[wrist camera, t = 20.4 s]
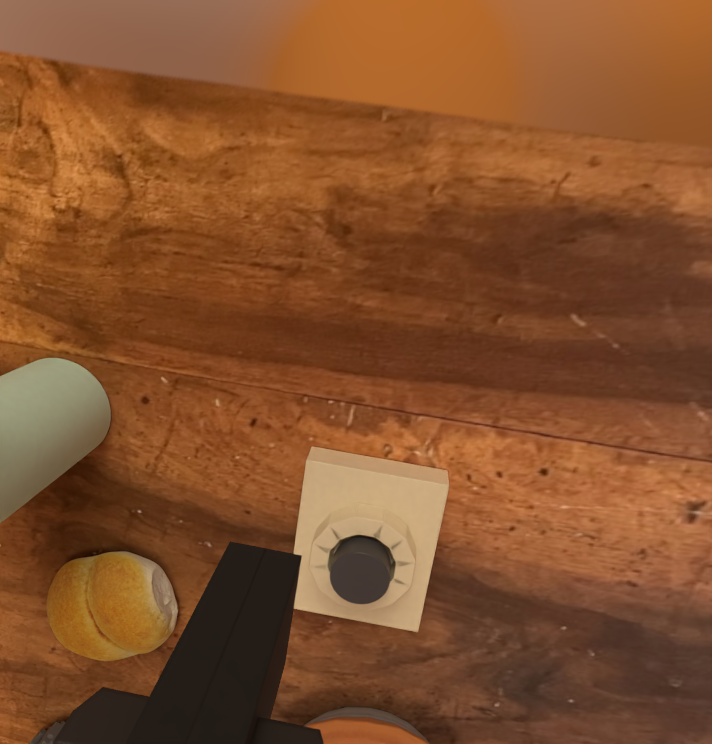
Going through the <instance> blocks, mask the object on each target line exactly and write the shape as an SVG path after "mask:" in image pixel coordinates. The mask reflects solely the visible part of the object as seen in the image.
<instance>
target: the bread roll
mask: <svg viewBox="0 0 712 744" xmlns="http://www.w3.org/2000/svg"><path fill="white" fill-rule="evenodd" d="M177 615H178V605H177V602H176V599H175V596H174V591H173V588H172V585H171V584H170V581H169V579H168V578H167V576H166V574H165V572H164V571H163V569H162V568H161V567H160V566H159V565H158V564H156V563H155V562H153V561H151V560H149V559H146V558H144V557H141V556H139V555H136V554H133V553H130V552H125V551H121V552H107V553H104V554H100V555H97V556H92V557H85V558H78V559H74V560H71V561H69V562H67V563H66V564H65V565H63V566H62V567H61V568H60V569H59V571H58V572H57V574H56V576H55V577H54V579H53V581H52V584H51V586H50V588H49V591H48V597H47V616H48V620H49V623H50V626H51V629H52V631H53V633H54V635H55V637H56V638H57V639H58V640H59V642H60V643H61V644H62V645H63V646H65V647H66V648H67V649H69V650H70V651H72V652H74V653H76V654H79V655H82V656H85V657H88V658H91V659H95V660H100V661H114V660H118V659H123V658H127V657H130V656H133V655H137V654H144V653H148V652H151V651H153V650H154V649H156V648H157V647H159V646H160V645H161V644H163V643H164V642H165V641H166V640H167V639H168V638H169V636H170V635H171V634H172V632H173V631H174V629H175V625H176V620H177Z"/></svg>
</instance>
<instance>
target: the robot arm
mask: <svg viewBox="0 0 712 744" xmlns="http://www.w3.org/2000/svg"><path fill="white" fill-rule="evenodd" d="M301 558H302V556H301V555H296V554H291V553H286V552H281V551H275V550H270V549H265V548H260V547H255V546H250V545H244V544H239V543H234V542H230V543H229V545H228V547H227V549H226V551H225V552H224V554H223V556H222V558H221V560H220V562H219V564H218V566H217V568H216V570H215V572H214V574H213V576H212V577H211V579H210V581H209V583H208V585H207V587H206V589H205V591H204V593H203V595H202V597H201V599H200V601H199V603H198V604H197V606H196V608H195V610H194V612H193V614H192V616H191V618H190V620H189V622H188V624H187V626H186V628H185V629H184V631H183V633H182V635H181V637H180V639H179V641H178V643H177V645H176V647H175V649H174V651H173V653H172V654H171V656H170V658H169V660H168V662H167V664H166V666H165V668H164V670H163V672H162V674H161V676H160V678H159V679H158V681H157V683H156V685H155V687H154V689H153V691H152V693H151V695H150V697H148V696H143V695H138V694H133V693H128V692H123V691H118V690H114V689H109V688H104V687H103V688H101V689H100V690H99V691H98V692H96V693H95V694H94V695H92V696H91V697H90V698H89V699H87V700H86V701H85V702H84V703H82V704H81V705H80V706H79V707H77V708H76V709H75V710H74V711H73V712H72V713H71V715H70V716H69V718H68V720H67V721H66V723H65V724H64V726H63V727H62V729H61V730H60V732H59V733H58V735H57V736H56V738H55V739H54V741H53V743H52V744H324V742H323V739H322V735H321V731H320V729H315V728H310V727H305V726H300V725H296V724H291V723H286V722H281V721H276V720H271V719H270V717H271V713H272V710H273V706H274V702H275V699H276V695H277V691H278V688H279V684H280V680H281V676H282V673H283V669H284V665H285V660H286V654H287V647H288V641H289V635H290V628H291V622H292V615H293V609H294V603H295V596H296V590H297V584H298V577H299V571H300V564H301Z"/></svg>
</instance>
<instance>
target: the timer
mask: <svg viewBox="0 0 712 744" xmlns="http://www.w3.org/2000/svg"><path fill="white" fill-rule="evenodd" d="M448 489H449V479H448V471H447V470H443V469H437V468H431V467H426V466H420V465H414V464H409V463H403V462H397V461H392V460H386V459H381V458H375V457H369V456H364V455H358V454H352V453H347V452H341V451H335V450H330V449H324V448H318V447H313V446H312V447H311V450H310V452H309V455H308V457H307V459H306V465H305V472H304V480H303V487H302V494H301V502H300V509H299V516H298V523H297V531H296V538H295V545H294V553H293V554H296V555H301V556H302V558H301V564H300V571H299V577H298V584H297V590H296V596H295V603H294V609H299V610H304V611H309V612H315V613H320V614H325V615H330V616H336V617H341V618H346V619H351V620H357V621H362V622H367V623H372V624H378V625H383V626H388V627H393V628H399V629H404V630H409V631H414V632H418V629H419V625H420V620H421V615H422V611H423V606H424V601H425V597H426V592H427V587H428V583H429V578H430V573H431V569H432V564H433V559H434V555H435V550H436V545H437V541H438V536H439V531H440V527H441V522H442V517H443V513H444V508H445V503H446V499H447V494H448ZM356 537H365V538H370V539H373V540H375V541H377V542H378V543H380V544H381V545H382V546H383V547H384V548H385V549H386V551H387V552H388V554H389V556H390V560H391V571H390V583H389V587H388V589H387V591H386V593H385V594H384V595H383V596H382V597H381V598H380V599H378V600H377V601H375V602H372V603H369V604H354V603H351V602H348V601H346V600H344V599H343V598H341V597H340V596H339V595H338V594H337V593H336V592H335V591H334V589H333V587H332V585H331V582H330V571H331V566H332V562H333V557H334V554H335V551H336V550H337V548H338V547H339V546H340V545H341V544H342V543H343V542H345V541H347V540H349V539H351V538H356Z"/></svg>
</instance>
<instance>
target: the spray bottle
mask: <svg viewBox="0 0 712 744" xmlns="http://www.w3.org/2000/svg"><path fill="white" fill-rule="evenodd" d="M110 422H111V408H110V404H109V400H108V397H107V395H106V392H105V390H104V389H103V387H102V385H101V384H100V383H99V381H98V380H97V379H96V378H95V377H94V376H93V375H92V374H91V373H90V372H89V371H88V370H86V369H85V368H83V367H82V366H80V365H78V364H76V363H74V362H72V361H69V360H65V359H60V358H44V359H39V360H37V361H34V362H32V363H29V364H27V365H25V366H23V367H20V368H18V369H16V370H13V371H11V372H9V373H7V374H4V375H2V376H0V523H1V522H3V521H4V520H5V519H6V518H8V517H9V516H10V515H11V514H13V513H14V512H15V511H17V510H18V509H19V508H20V507H22V506H23V505H24V504H25V503H27V502H28V501H29V500H30V499H32V498H33V497H34V496H35V495H37V494H38V493H39V492H41V491H42V490H43V489H44V488H46V487H47V486H48V485H49V484H51V483H52V482H53V481H54V480H56V479H57V478H58V477H59V476H61V475H62V474H63V473H64V472H66V471H67V470H68V469H70V468H71V467H72V466H73V465H75V464H76V463H77V462H78V461H80V460H81V459H82V458H83V457H85V456H86V455H87V454H88V453H90V452H91V451H92V450H94V449H95V448H96V447H97V446H98V445H99V444H100V443H101V442H102V441H103V440H104V438H105V436H106V435H107V432H108V430H109V427H110Z"/></svg>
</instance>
